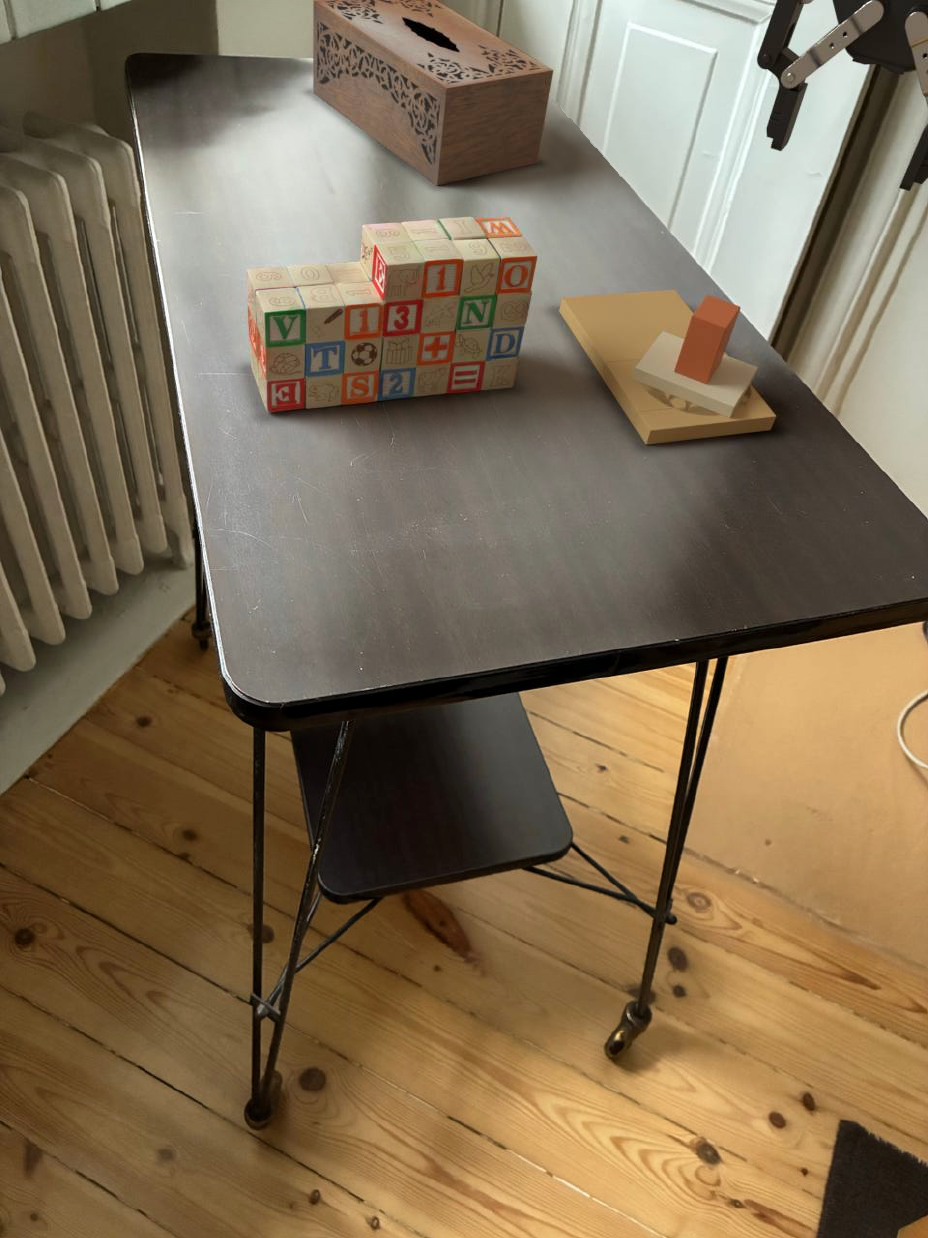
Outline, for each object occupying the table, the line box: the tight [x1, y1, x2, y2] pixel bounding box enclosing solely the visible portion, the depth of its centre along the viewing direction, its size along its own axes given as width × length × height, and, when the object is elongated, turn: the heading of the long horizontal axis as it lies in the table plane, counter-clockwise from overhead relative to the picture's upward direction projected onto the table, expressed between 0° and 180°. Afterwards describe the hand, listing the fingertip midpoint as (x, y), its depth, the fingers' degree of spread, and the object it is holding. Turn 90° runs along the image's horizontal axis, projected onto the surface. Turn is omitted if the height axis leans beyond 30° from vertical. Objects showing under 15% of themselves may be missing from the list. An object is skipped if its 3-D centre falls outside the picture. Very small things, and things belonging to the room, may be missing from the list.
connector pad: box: [632, 294, 759, 418], centre depth 84 cm, size 9×7×8 cm
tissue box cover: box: [312, 0, 554, 186], centre depth 113 cm, size 26×14×10 cm, turn 37°
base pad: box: [558, 289, 777, 446], centre depth 88 cm, size 20×12×2 cm, turn 18°
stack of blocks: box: [246, 216, 538, 413], centre depth 78 cm, size 21×6×12 cm, turn 110°
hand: (842, 165), depth 64 cm, fingers open, 8 cm apart
